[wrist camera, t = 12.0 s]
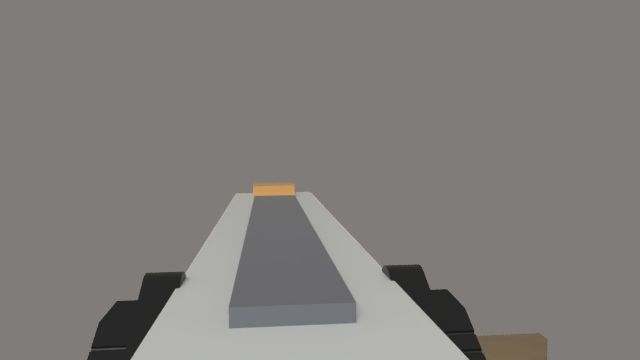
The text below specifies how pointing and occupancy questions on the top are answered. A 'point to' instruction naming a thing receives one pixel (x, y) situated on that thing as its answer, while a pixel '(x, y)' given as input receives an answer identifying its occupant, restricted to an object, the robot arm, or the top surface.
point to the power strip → (289, 293)
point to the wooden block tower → (514, 347)
